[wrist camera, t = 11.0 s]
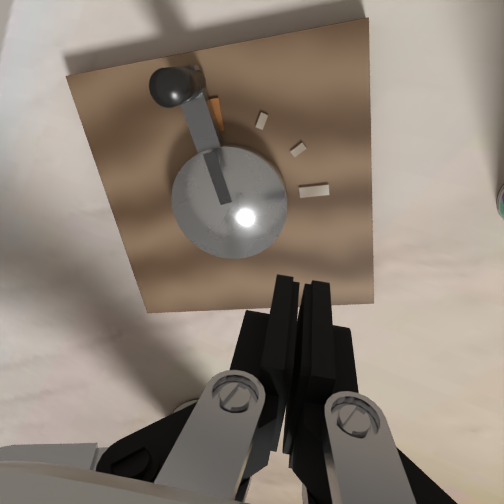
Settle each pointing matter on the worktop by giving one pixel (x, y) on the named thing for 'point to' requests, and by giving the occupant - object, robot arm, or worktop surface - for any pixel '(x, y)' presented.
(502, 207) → the spray can
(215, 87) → the board
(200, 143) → the dial
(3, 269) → the worktop surface
